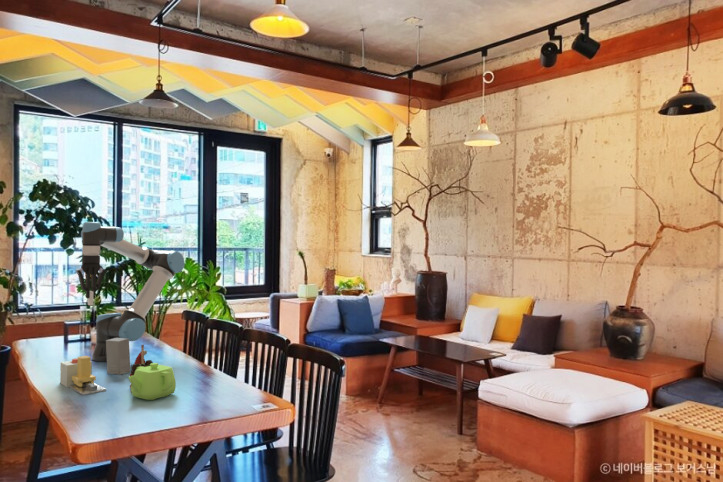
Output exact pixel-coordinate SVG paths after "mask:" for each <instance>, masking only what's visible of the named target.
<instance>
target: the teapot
mask: <svg viewBox="0 0 723 482" xmlns="http://www.w3.org/2000/svg"><path fill="white" fill-rule="evenodd" d="M127 379H128V380H129V382H130V385H132V386H131V388H130V391H131V394H132V397H135V398H139V399H142V400H147V401H155V400H156V399H160V398H163V397H168V396H169V395H172V394H174V393H175V391H176V388H177V385H176V384H177V383H176V377H175V372H174V369H173V367H171V366H168V365H164V364H159V363H158V362H153V363H151V364H150V366H147V367H143V366H140V367H137V369H136V370H135V373H134V376H133V375H132V376H130V375H129V376H128V377H127Z"/></svg>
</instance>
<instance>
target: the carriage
mask: <svg viewBox="0 0 723 482" xmlns="http://www.w3.org/2000/svg"><path fill="white" fill-rule="evenodd" d="M77 358H78V369H77V375H76V376H72V380H73V381H74V384H76V385H77V386H79V387H82V383H83V382H90V383H92V384H94V383H95V382H96V381H97V380H96V379H97V376H95V375H93V373H92V374H90V367H91V362H92V356H88V355H82V356H77Z"/></svg>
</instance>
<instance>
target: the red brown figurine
mask: <svg viewBox="0 0 723 482" xmlns="http://www.w3.org/2000/svg"><path fill="white" fill-rule="evenodd" d="M140 347H141V350H140V352H139V353H138V355H137V357H136V358H135V360H134V363H133V364H132V366H131V370H130V374H129V377H130V376H132V375H133V376H134V373H135V370H136V369H137V367H140V366H143V367H147V366H150V364H151V363H154V362H153V361H152V359H148V360H145V356H146V355H147V354H148V351H147V350H145V345H144V344H141V346H140ZM131 386H132V385H131V384H129V388H130V389H131Z"/></svg>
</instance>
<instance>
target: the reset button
mask: <svg viewBox="0 0 723 482" xmlns="http://www.w3.org/2000/svg"><path fill="white" fill-rule="evenodd" d="M71 361H72V364H74V363H78V357H77V358H72V359H71Z"/></svg>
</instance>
